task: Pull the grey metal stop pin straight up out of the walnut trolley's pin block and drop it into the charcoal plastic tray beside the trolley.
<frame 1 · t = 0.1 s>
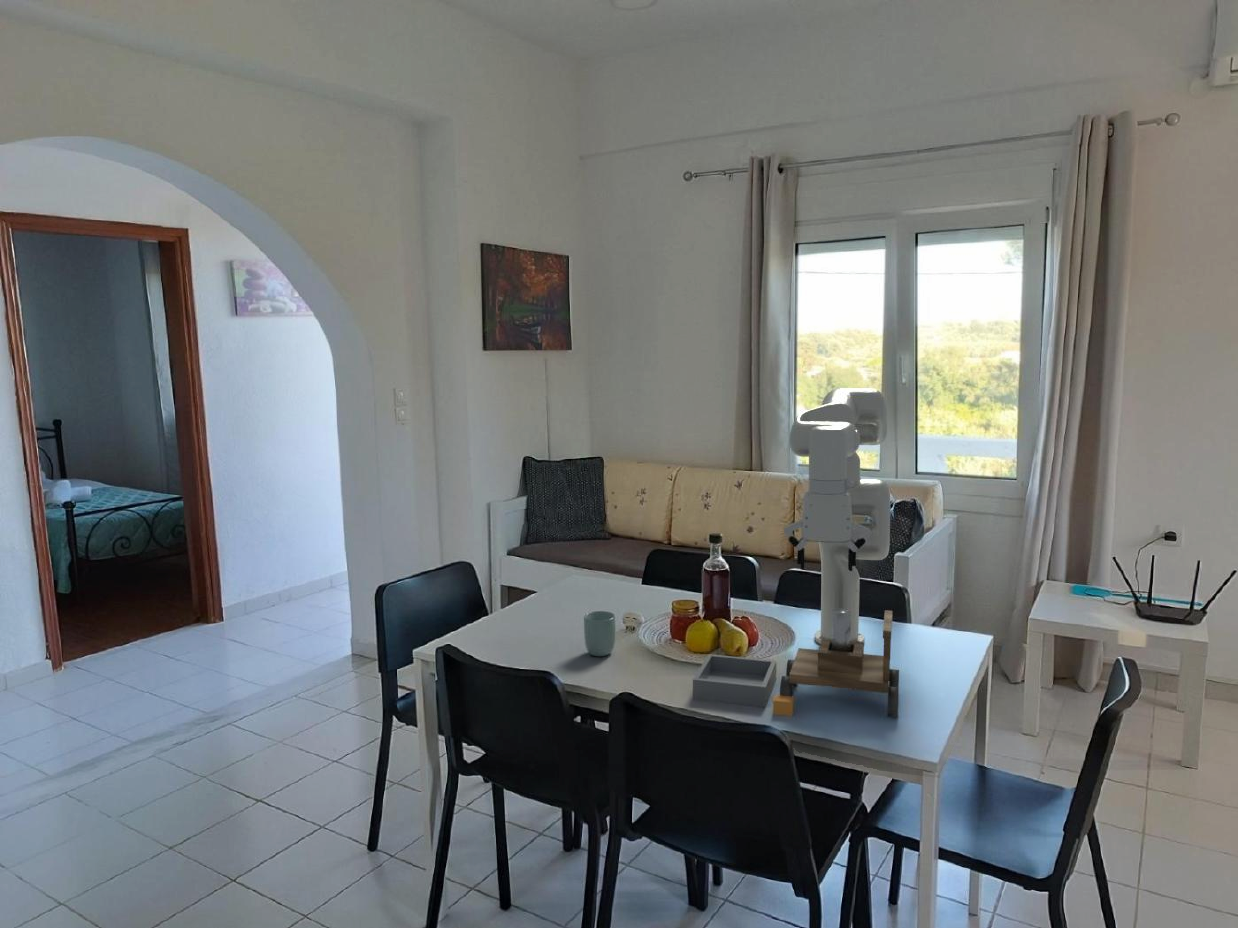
hand: (826, 568, 181), 31 cm above the table, fingers open, 9 cm apart
stop pin: (840, 664, 190), point 8 cm above the table, touching trolley
cup: (600, 654, 222), on the table
orange block: (783, 712, 186), on the table
trolley: (840, 699, 191), on the table
tray: (735, 688, 198), on the table
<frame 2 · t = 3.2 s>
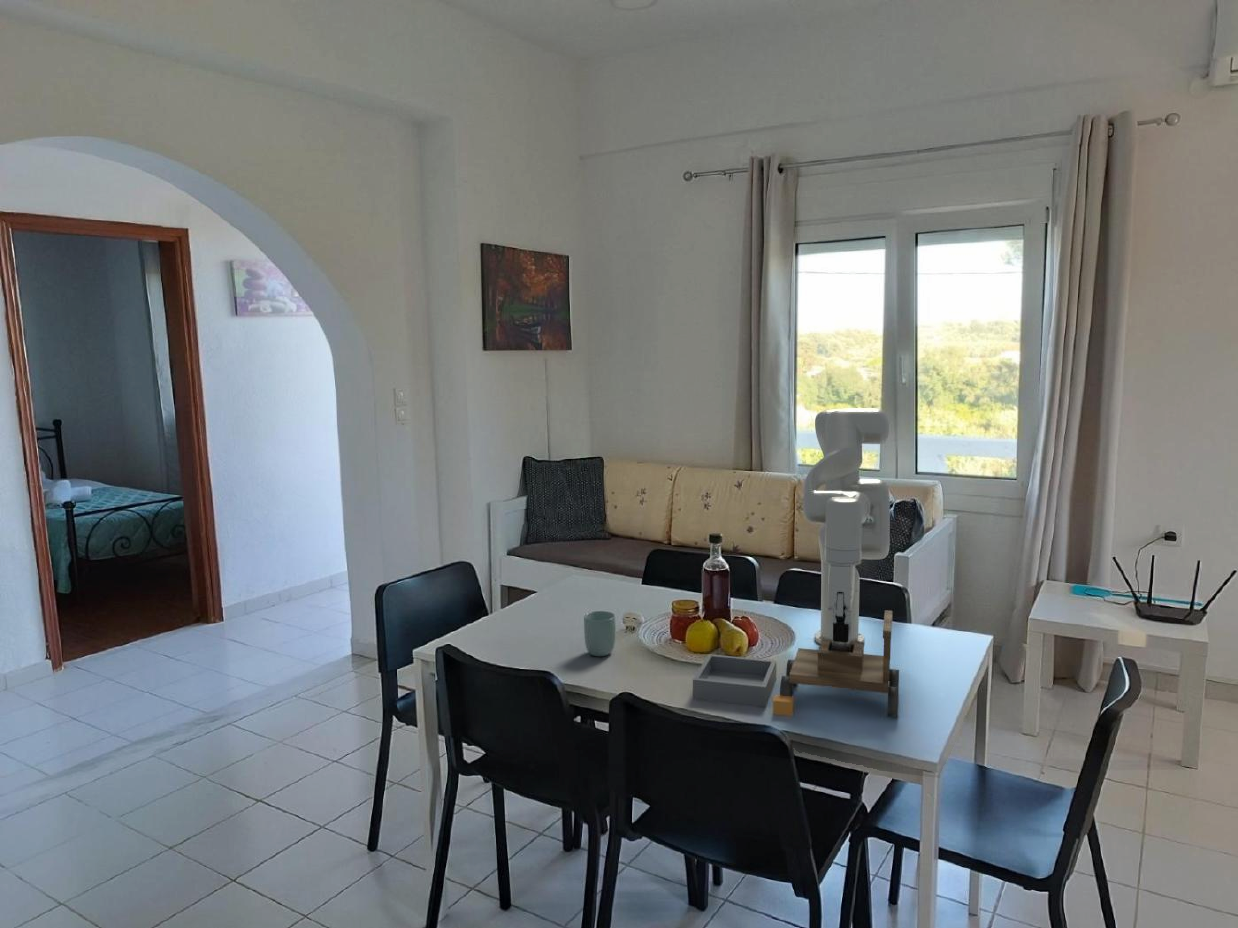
hand: (841, 636, 189), 14 cm above the table, fingers closed on stop pin, 4 cm apart
stop pin: (840, 664, 190), point 8 cm above the table, touching gripper, trolley
everything else where it was.
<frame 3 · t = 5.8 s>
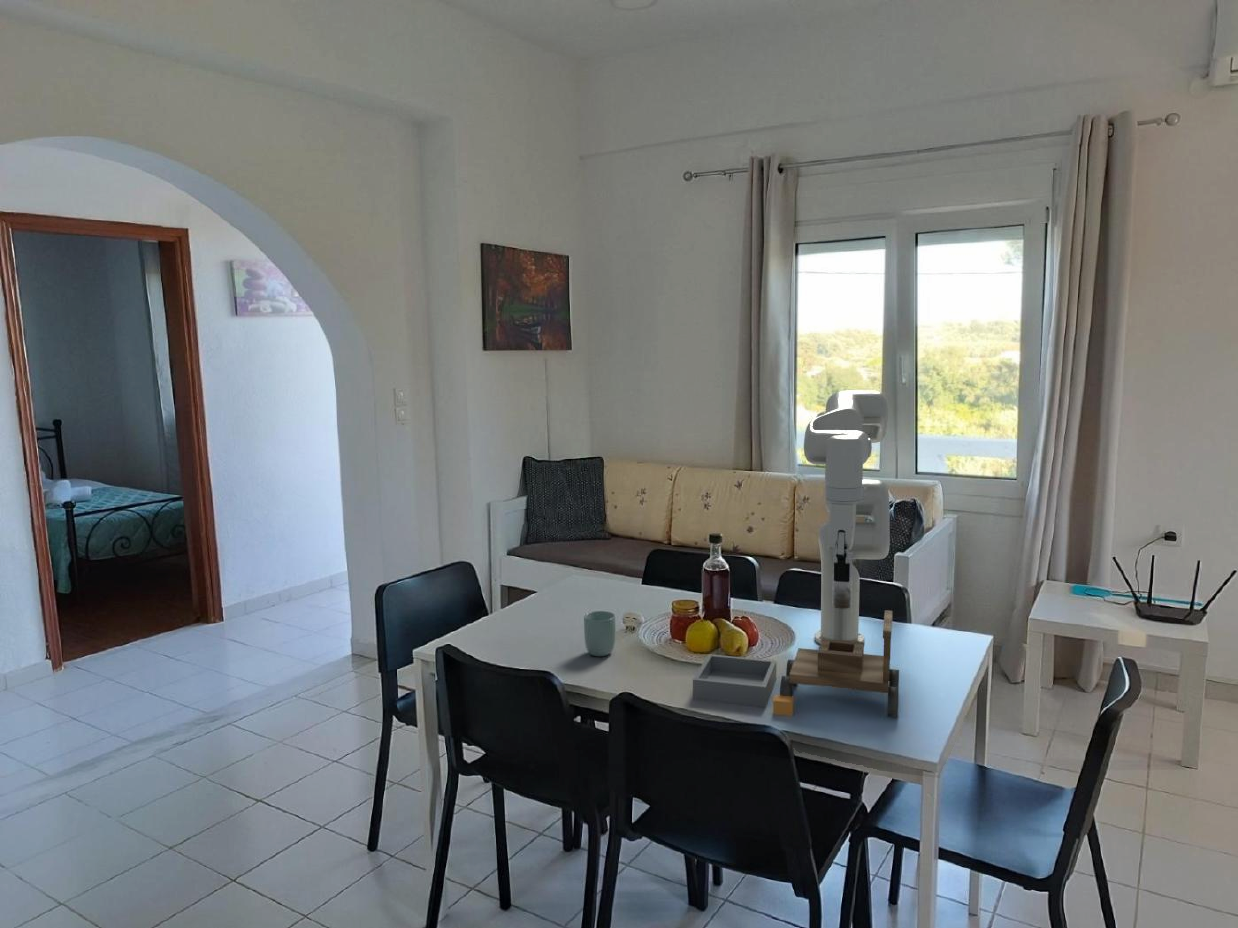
hand: (842, 577, 188), 27 cm above the table, fingers closed on stop pin, 4 cm apart
stop pin: (841, 605, 189), point 21 cm above the table, touching gripper
everything else where it was.
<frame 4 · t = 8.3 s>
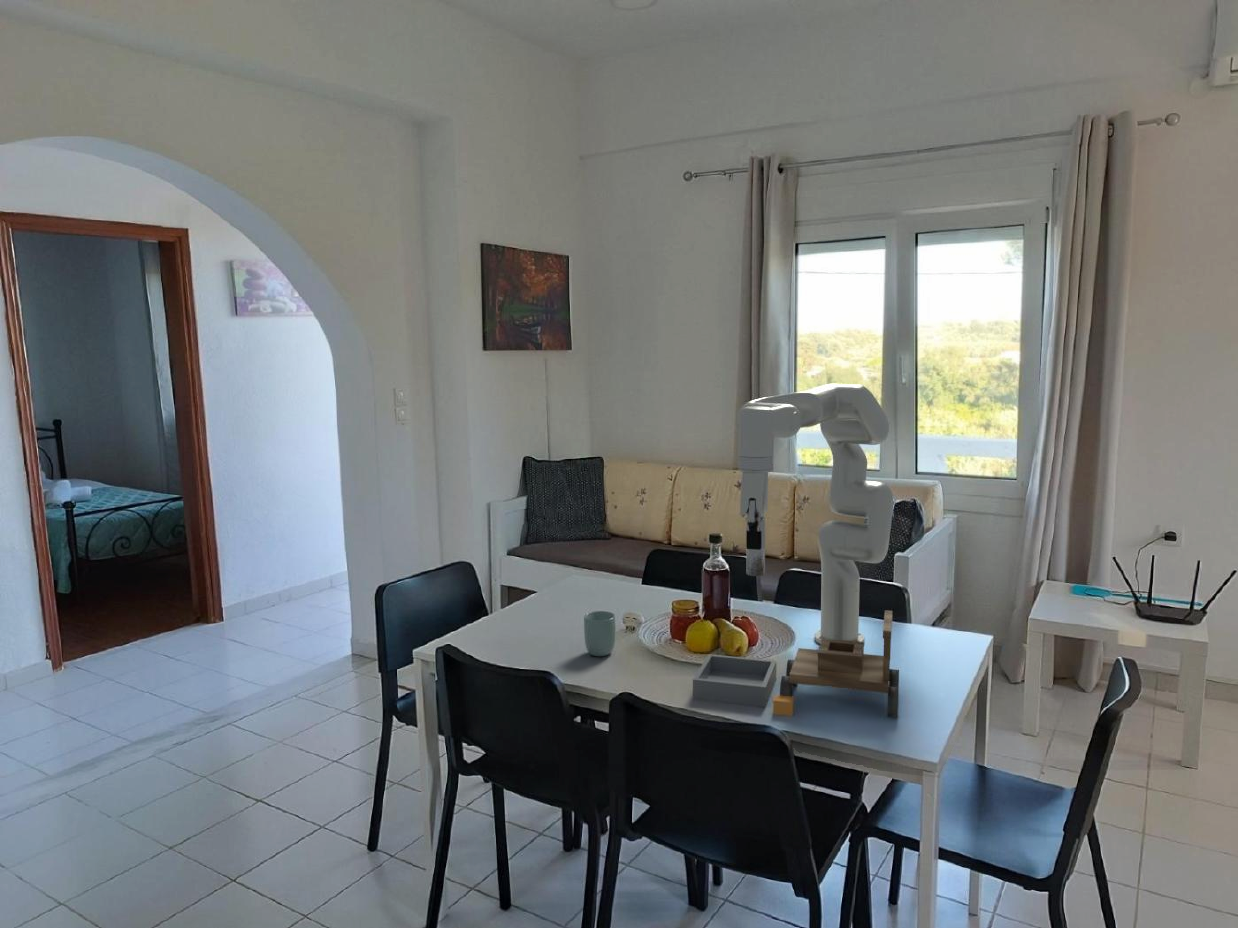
hand: (755, 545, 192), 33 cm above the table, fingers closed on stop pin, 4 cm apart
stop pin: (755, 573, 193), point 27 cm above the table, touching gripper
everything else where it was.
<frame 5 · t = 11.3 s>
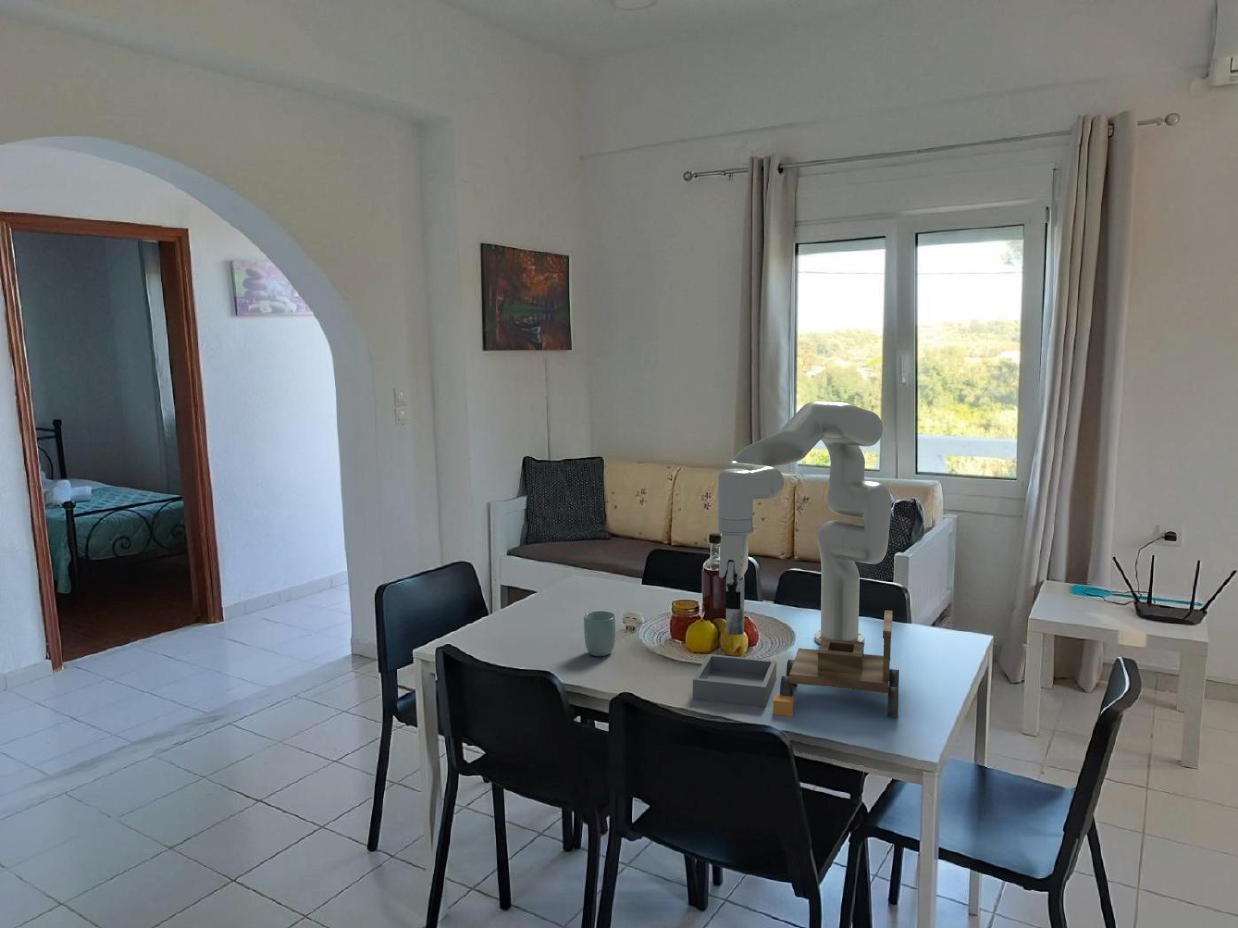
hand: (735, 604, 196), 20 cm above the table, fingers closed on stop pin, 4 cm apart
stop pin: (735, 632, 196), point 13 cm above the table, touching gripper
everything else where it was.
when the fingers open (10 cm above the table, at t = 13.9 s): stop pin drops 3 cm, resting on tray.
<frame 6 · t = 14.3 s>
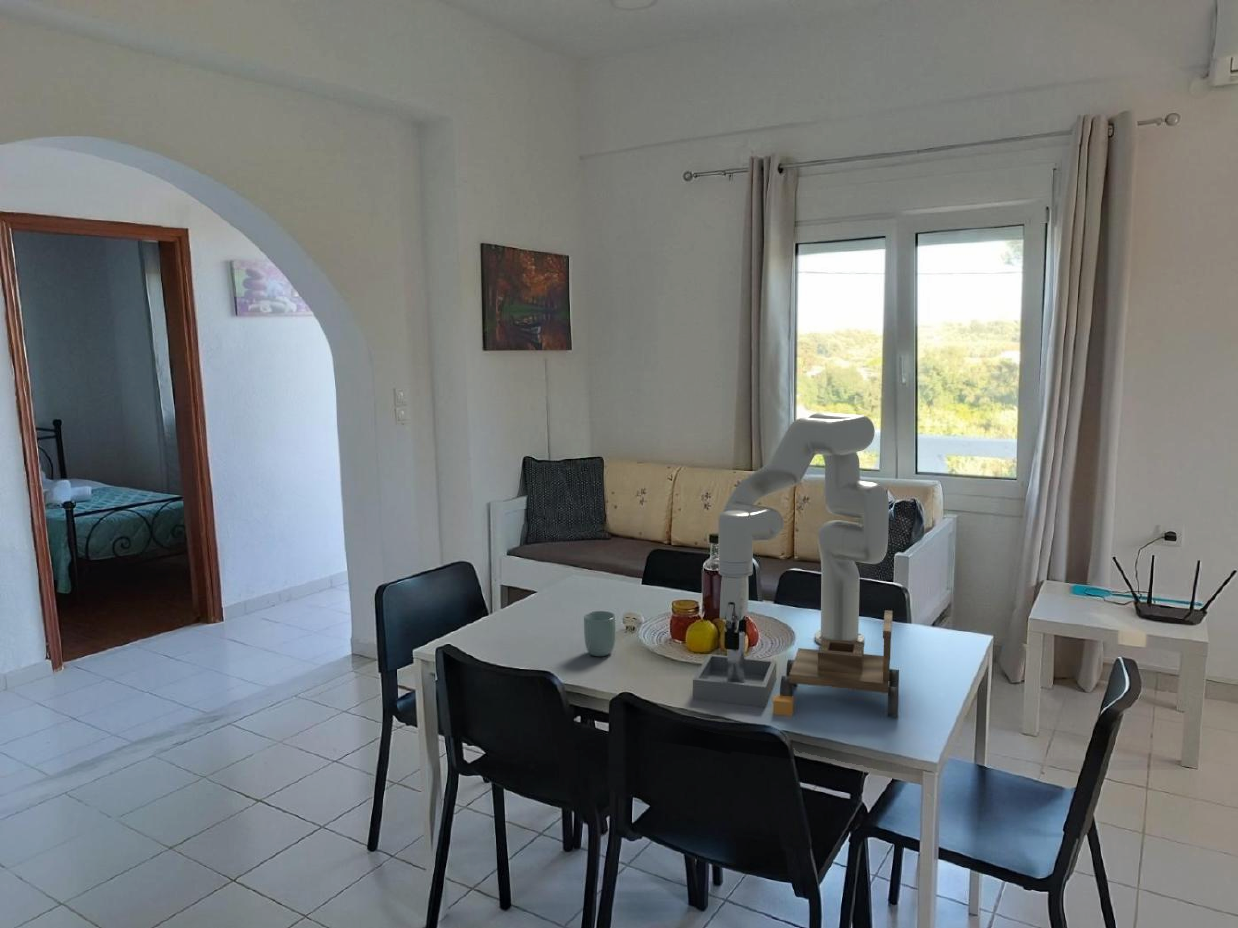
hand: (735, 641, 197), 11 cm above the table, fingers open, 8 cm apart
stop pin: (735, 684, 198), point 1 cm above the table, touching tray
everything else where it was.
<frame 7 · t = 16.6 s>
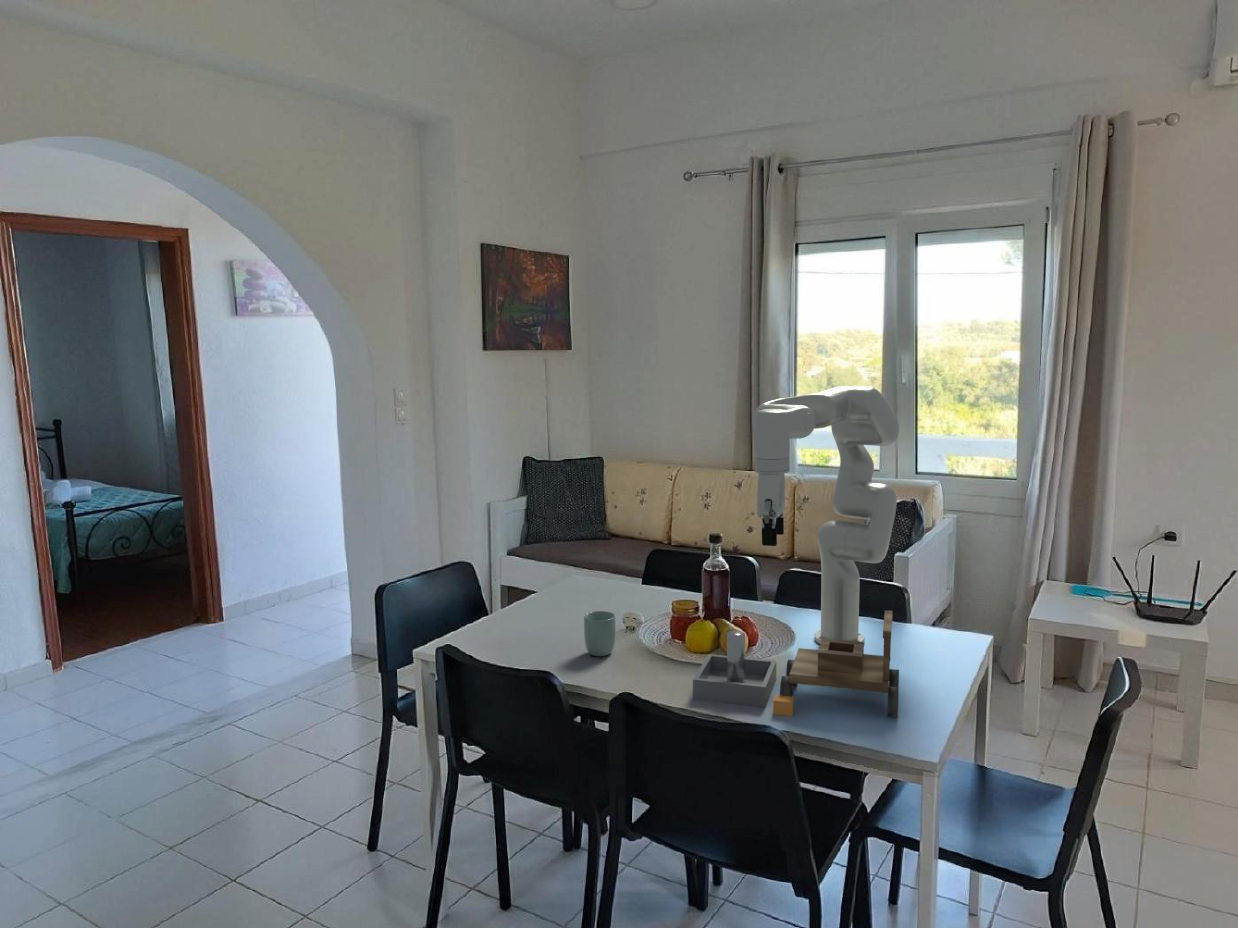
hand: (773, 539, 198), 33 cm above the table, fingers open, 9 cm apart
nothing on the table moved.
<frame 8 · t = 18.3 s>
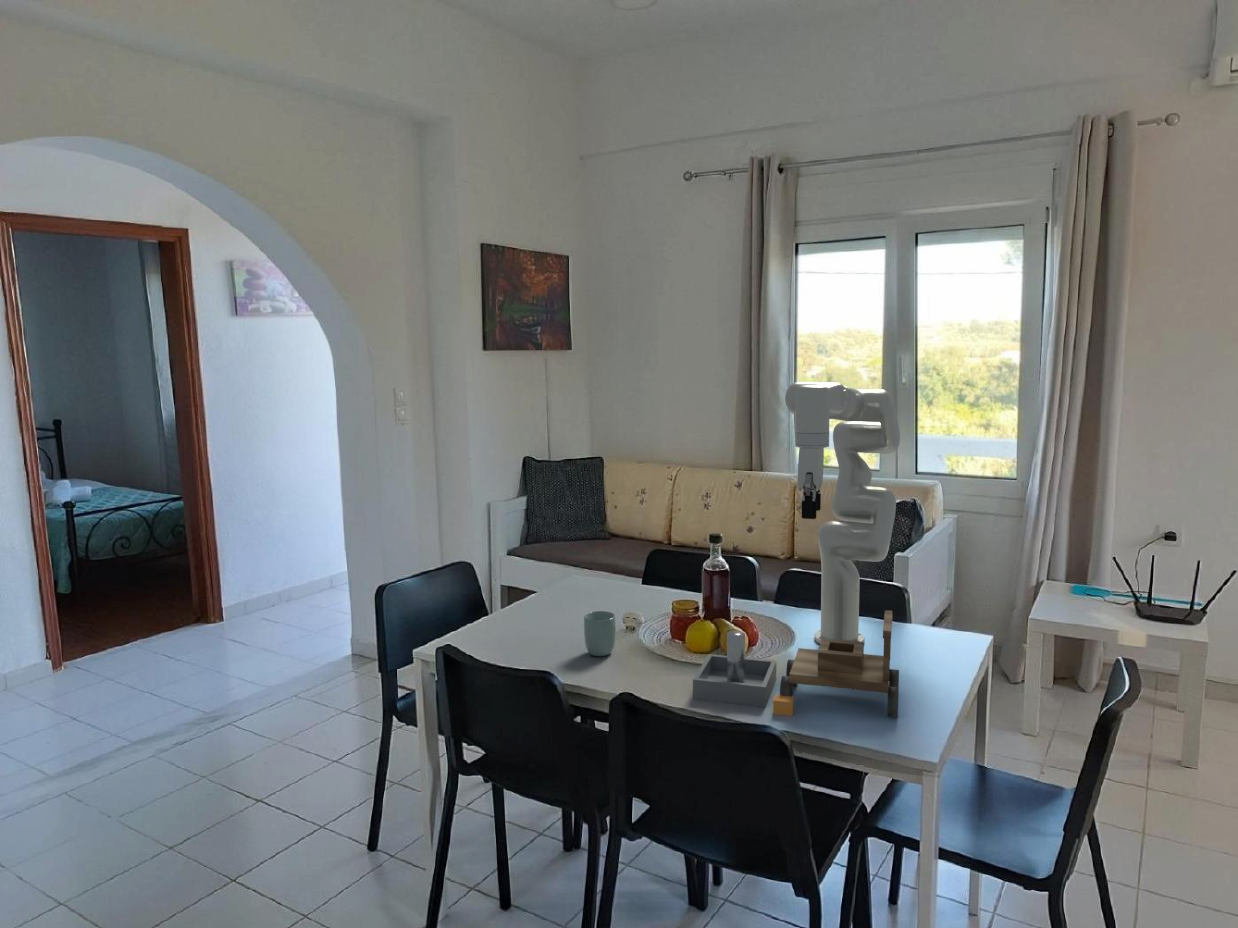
hand: (811, 514, 200), 38 cm above the table, fingers open, 9 cm apart
nothing on the table moved.
at the end: stop pin inside the target area on the tray (0.0 cm from its centre), point 1.0 cm above the tray's base; the gripper is holding nothing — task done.
